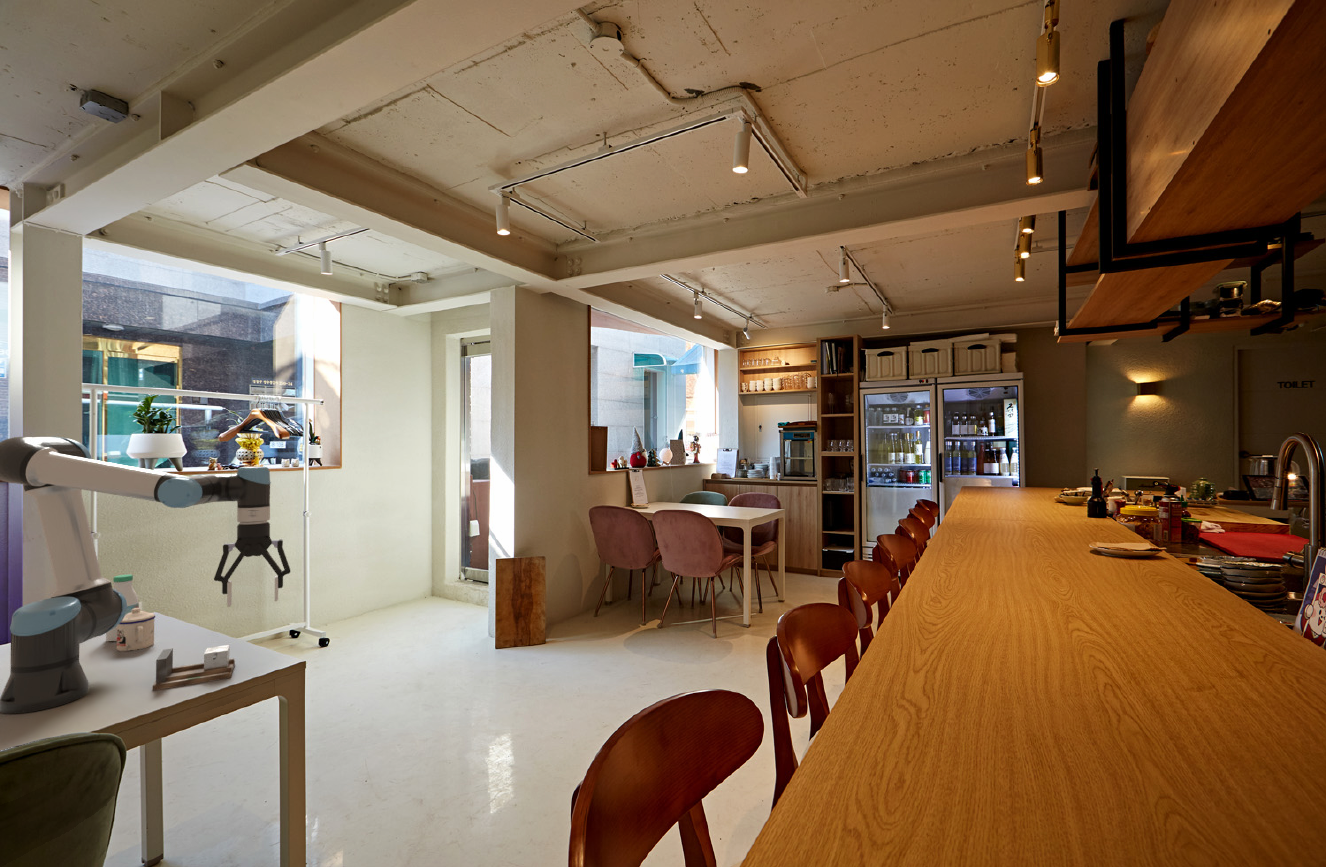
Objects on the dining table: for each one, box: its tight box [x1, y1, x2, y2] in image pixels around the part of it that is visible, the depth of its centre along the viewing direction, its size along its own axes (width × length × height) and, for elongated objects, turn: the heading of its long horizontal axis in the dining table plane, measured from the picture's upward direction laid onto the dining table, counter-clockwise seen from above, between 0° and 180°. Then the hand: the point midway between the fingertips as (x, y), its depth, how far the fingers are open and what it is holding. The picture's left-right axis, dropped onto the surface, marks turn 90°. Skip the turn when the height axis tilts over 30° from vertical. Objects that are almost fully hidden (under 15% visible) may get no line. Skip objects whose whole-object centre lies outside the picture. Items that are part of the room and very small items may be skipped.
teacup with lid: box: [116, 607, 156, 652], centre depth 183 cm, size 12×9×12 cm
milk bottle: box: [105, 574, 140, 642], centre depth 192 cm, size 8×8×20 cm
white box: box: [203, 644, 231, 671], centre depth 161 cm, size 5×9×5 cm, turn 31°
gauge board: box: [151, 648, 236, 691], centre depth 160 cm, size 16×11×7 cm
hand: (253, 602), depth 166 cm, fingers open, 10 cm apart
